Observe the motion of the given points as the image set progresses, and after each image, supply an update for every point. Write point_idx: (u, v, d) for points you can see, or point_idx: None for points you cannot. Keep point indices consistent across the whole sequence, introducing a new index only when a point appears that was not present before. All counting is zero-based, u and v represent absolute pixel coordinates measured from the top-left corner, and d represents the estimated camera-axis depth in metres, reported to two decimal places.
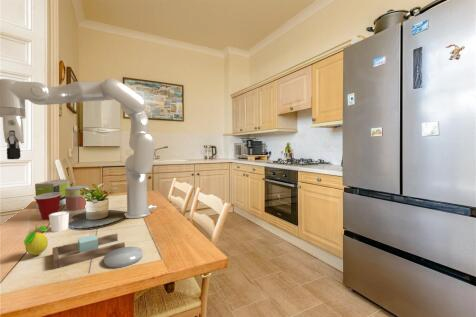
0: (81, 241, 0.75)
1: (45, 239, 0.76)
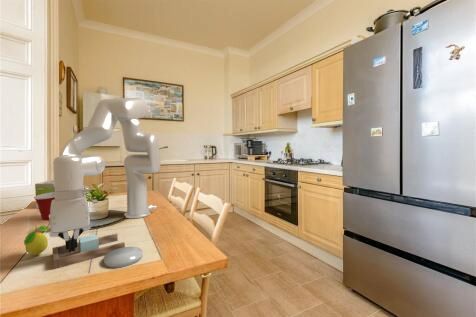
0: (81, 240, 0.75)
1: (45, 239, 0.76)
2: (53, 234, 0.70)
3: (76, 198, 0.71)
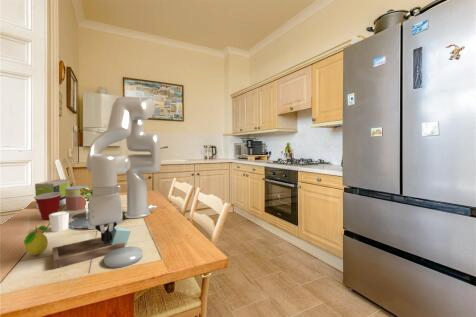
0: (116, 229, 0.82)
1: (45, 239, 0.76)
2: (91, 227, 0.77)
3: (112, 194, 0.78)
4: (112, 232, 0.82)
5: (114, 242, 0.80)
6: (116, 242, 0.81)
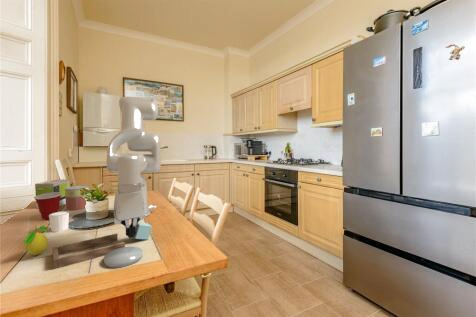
0: (139, 224, 0.87)
1: (45, 239, 0.76)
2: (117, 222, 0.82)
3: (136, 191, 0.83)
4: (135, 227, 0.88)
5: (137, 236, 0.85)
6: (139, 236, 0.86)
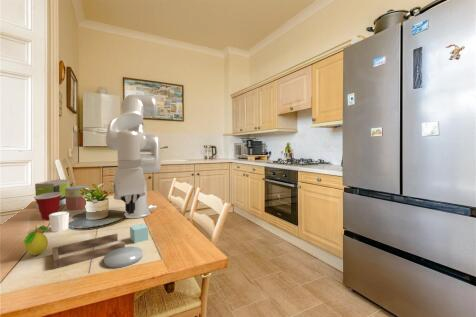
0: (134, 228, 0.86)
1: (45, 239, 0.76)
2: (117, 197, 0.82)
3: (136, 167, 0.83)
4: (131, 232, 0.87)
5: (136, 241, 0.85)
6: (138, 240, 0.86)
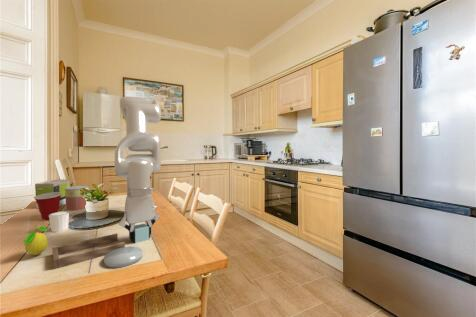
0: (135, 228, 0.86)
1: (45, 239, 0.76)
2: (122, 224, 0.83)
3: (146, 195, 0.85)
4: None
5: (137, 240, 0.85)
6: (138, 240, 0.86)
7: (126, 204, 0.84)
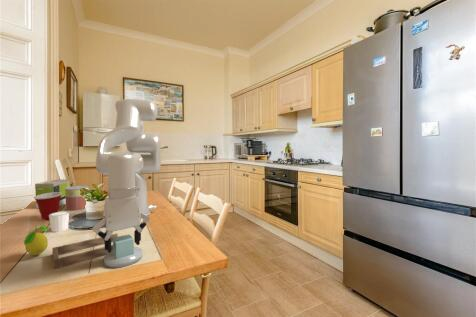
0: (116, 240, 0.71)
1: (45, 239, 0.76)
2: (96, 229, 0.67)
3: (130, 196, 0.70)
4: (114, 244, 0.72)
5: (118, 255, 0.70)
6: (120, 255, 0.71)
7: (105, 207, 0.69)
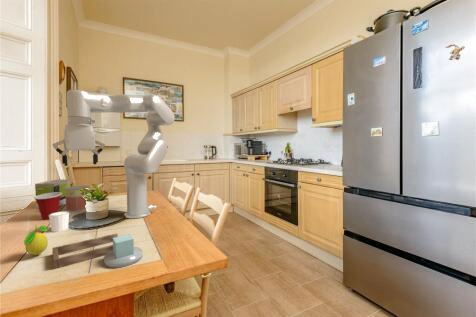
0: (116, 240, 0.71)
1: (45, 239, 0.76)
2: (55, 145, 0.86)
3: (85, 123, 0.89)
4: (114, 244, 0.72)
5: (118, 255, 0.70)
6: (120, 255, 0.71)
7: (64, 131, 0.88)
